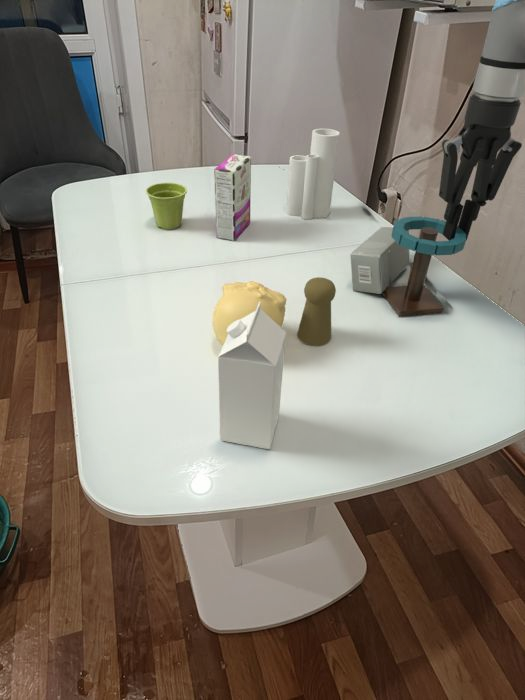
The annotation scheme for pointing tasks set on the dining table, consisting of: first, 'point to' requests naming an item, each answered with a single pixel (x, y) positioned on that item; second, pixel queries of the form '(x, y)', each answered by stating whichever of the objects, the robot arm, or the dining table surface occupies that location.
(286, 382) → the dining table surface
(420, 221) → the ring
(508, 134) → the robot arm
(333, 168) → the vase
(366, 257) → the cosmetic box
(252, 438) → the milk carton
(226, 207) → the candy bar box
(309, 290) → the brown pawn
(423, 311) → the post
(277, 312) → the sculpture
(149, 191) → the plant pot
